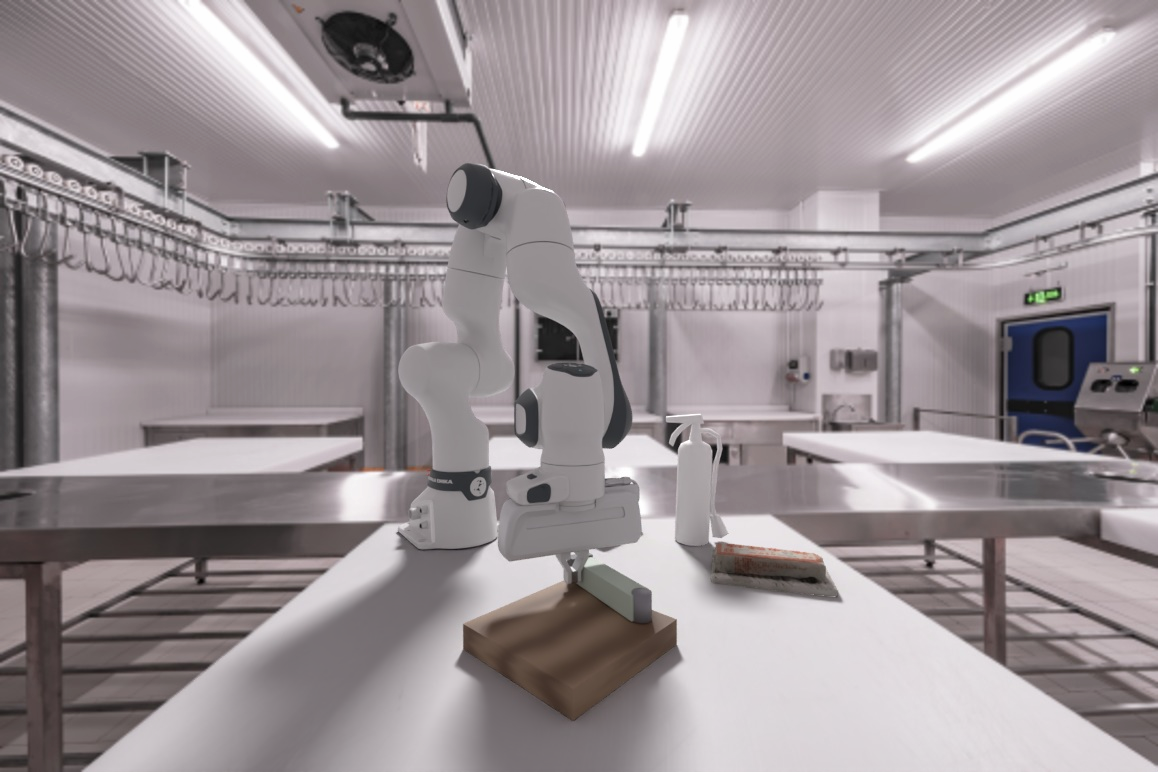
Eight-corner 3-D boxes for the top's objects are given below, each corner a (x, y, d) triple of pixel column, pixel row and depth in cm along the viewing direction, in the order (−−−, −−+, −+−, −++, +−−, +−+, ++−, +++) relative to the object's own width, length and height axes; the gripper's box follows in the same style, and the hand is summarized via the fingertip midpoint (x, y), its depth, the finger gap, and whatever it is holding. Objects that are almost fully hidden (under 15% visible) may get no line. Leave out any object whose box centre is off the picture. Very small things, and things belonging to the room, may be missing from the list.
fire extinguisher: (732, 548, 92) (732, 415, 92) (666, 545, 93) (666, 415, 93) (726, 537, 99) (726, 412, 98) (665, 534, 100) (665, 412, 100)
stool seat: (463, 648, 58) (463, 623, 58) (569, 598, 71) (569, 578, 71) (573, 721, 46) (573, 689, 46) (676, 644, 59) (676, 619, 59)
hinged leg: (659, 620, 59) (659, 592, 58) (636, 628, 57) (636, 599, 57) (586, 574, 72) (586, 551, 72) (567, 579, 71) (566, 555, 71)
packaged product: (710, 555, 77) (713, 535, 86) (710, 586, 77) (713, 563, 86) (838, 568, 71) (826, 545, 80) (838, 601, 71) (826, 575, 81)
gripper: (628, 471, 74) (628, 562, 74) (494, 483, 66) (494, 584, 66) (650, 479, 68) (650, 578, 68) (506, 493, 60) (506, 605, 60)
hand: (572, 581), depth 67 cm, fingers closed
